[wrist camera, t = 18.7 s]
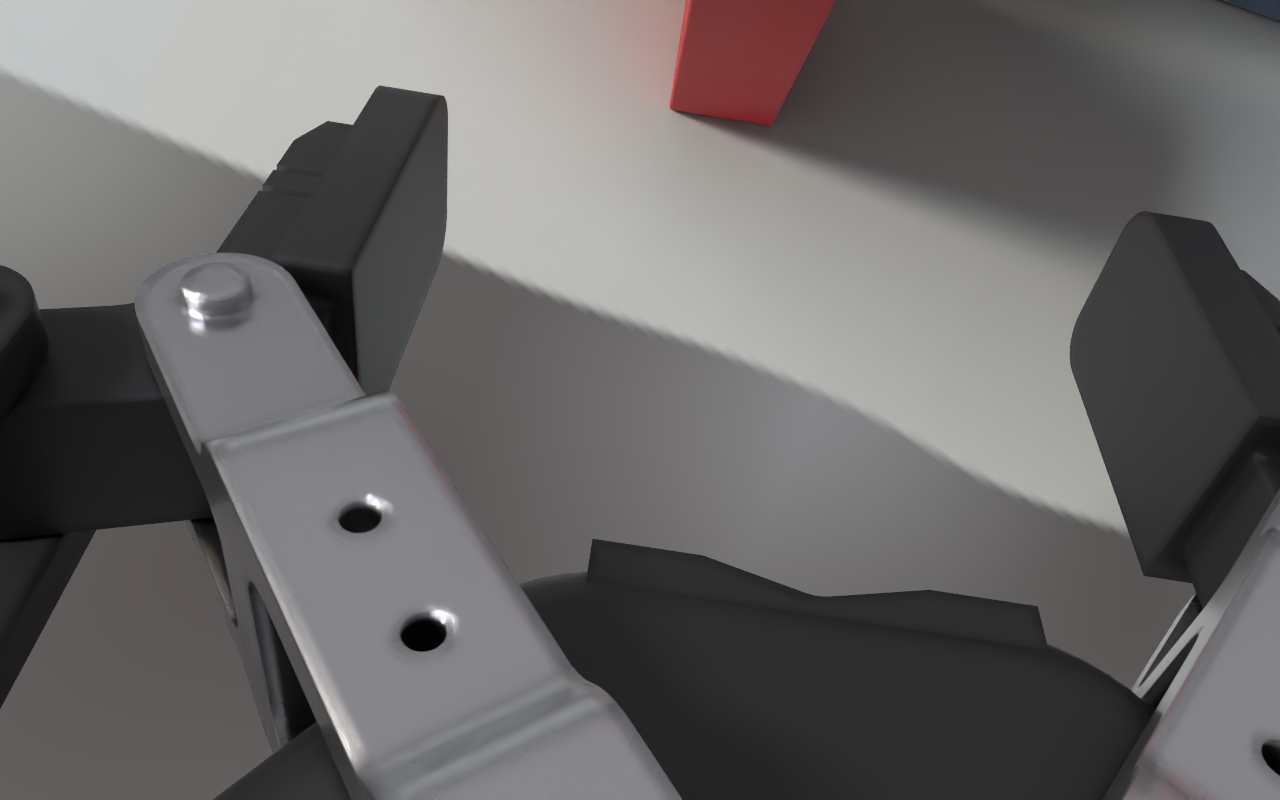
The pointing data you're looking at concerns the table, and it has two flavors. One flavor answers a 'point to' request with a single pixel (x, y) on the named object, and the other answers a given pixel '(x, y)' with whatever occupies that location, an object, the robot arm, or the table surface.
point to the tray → (1259, 7)
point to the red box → (743, 55)
